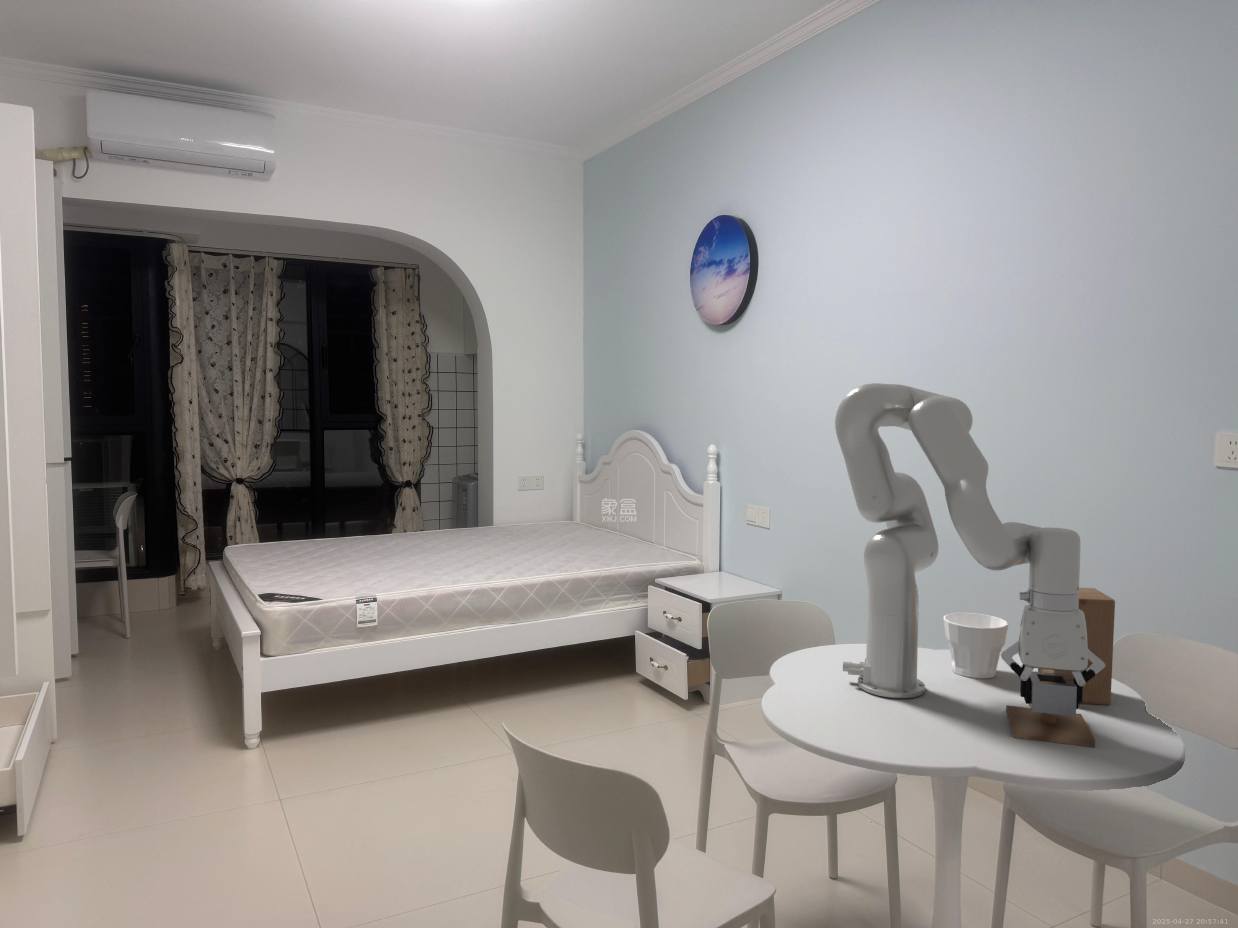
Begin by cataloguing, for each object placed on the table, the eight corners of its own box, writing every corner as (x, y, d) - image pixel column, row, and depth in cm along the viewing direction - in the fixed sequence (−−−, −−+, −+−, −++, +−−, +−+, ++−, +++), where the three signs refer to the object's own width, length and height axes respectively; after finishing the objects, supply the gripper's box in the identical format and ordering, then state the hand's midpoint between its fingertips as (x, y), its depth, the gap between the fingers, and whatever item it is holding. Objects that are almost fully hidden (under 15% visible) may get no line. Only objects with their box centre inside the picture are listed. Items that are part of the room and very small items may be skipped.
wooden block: (1111, 706, 150) (1116, 599, 149) (1052, 702, 152) (1057, 597, 151) (1091, 687, 160) (1095, 587, 158) (1036, 684, 162) (1040, 585, 160)
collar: (1031, 711, 137) (1032, 682, 137) (1026, 698, 143) (1027, 670, 143) (1075, 716, 135) (1076, 686, 134) (1068, 702, 141) (1069, 674, 141)
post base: (1013, 736, 136) (1015, 690, 135) (1006, 711, 147) (1007, 668, 147) (1095, 747, 132) (1097, 699, 131) (1080, 720, 143) (1082, 676, 143)
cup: (936, 660, 177) (937, 611, 176) (997, 664, 174) (999, 613, 173) (948, 679, 164) (949, 626, 164) (1014, 683, 162) (1016, 629, 161)
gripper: (999, 602, 137) (997, 705, 139) (1117, 609, 131) (1113, 717, 133) (995, 592, 144) (993, 691, 146) (1106, 599, 138) (1103, 702, 140)
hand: (1050, 702), depth 139 cm, fingers closed on collar, 6 cm apart
